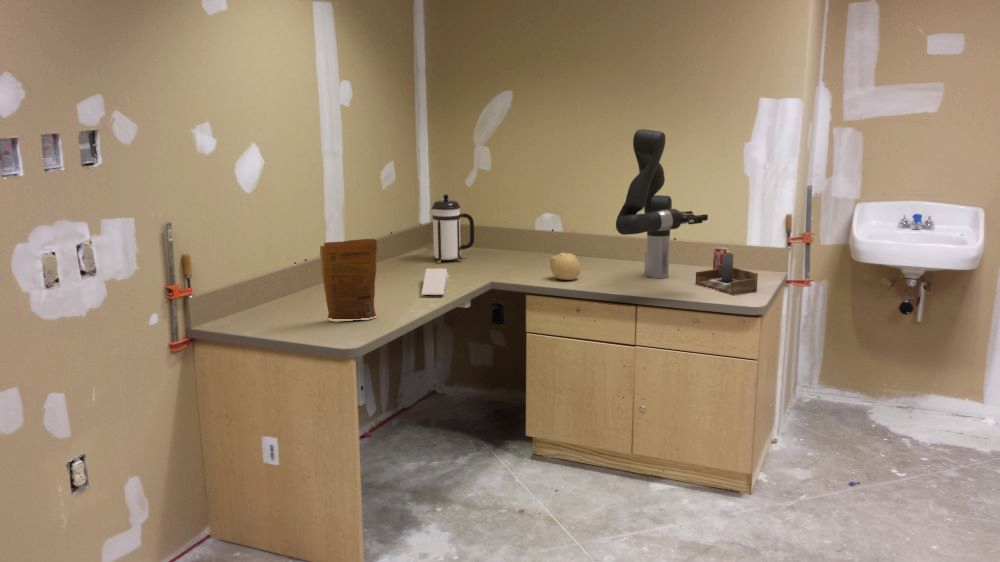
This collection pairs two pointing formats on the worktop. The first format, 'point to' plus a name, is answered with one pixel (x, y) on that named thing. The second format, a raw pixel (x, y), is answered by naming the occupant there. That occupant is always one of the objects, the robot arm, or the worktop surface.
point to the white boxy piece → (434, 281)
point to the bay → (735, 285)
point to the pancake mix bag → (349, 278)
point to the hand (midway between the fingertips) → (699, 215)
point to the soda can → (719, 255)
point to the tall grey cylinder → (727, 267)
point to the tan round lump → (565, 266)
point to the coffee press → (448, 229)
